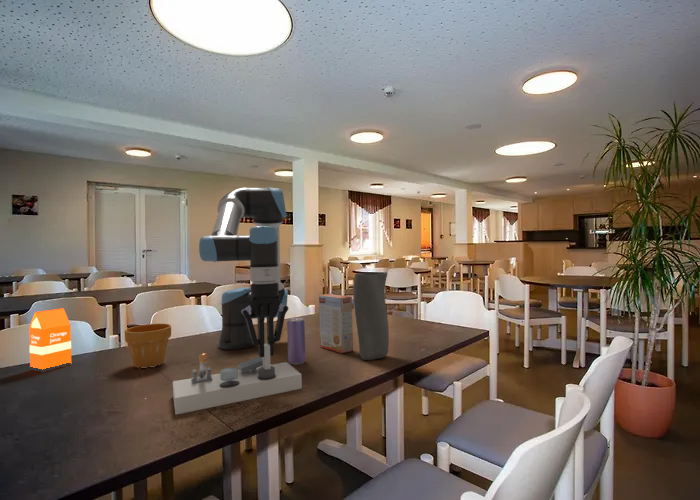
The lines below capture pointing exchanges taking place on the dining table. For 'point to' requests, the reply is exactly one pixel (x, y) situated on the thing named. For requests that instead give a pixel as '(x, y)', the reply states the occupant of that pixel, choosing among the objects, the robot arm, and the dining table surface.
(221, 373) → the button
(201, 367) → the lever
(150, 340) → the flower pot
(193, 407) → the console
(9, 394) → the dining table surface
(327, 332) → the cracker box
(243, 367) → the block
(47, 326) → the orange juice
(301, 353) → the beverage can
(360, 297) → the vase
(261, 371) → the button
